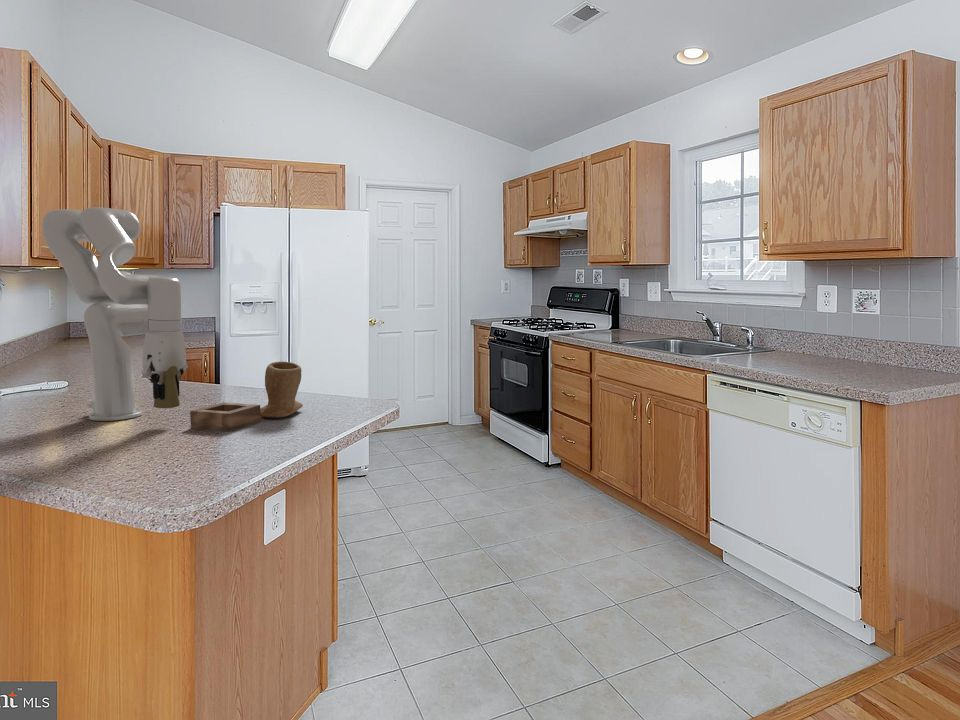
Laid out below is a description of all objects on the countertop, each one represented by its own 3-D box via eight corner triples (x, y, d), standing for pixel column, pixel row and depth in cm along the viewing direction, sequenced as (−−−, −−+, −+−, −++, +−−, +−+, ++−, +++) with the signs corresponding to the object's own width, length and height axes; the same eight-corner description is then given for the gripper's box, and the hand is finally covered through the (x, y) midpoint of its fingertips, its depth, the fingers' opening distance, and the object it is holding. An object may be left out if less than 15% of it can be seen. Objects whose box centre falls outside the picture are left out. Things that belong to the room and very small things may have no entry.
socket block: (190, 428, 157) (189, 410, 156) (223, 418, 168) (222, 402, 167) (230, 431, 153) (229, 413, 152) (261, 421, 164) (260, 404, 164)
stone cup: (292, 421, 165) (290, 365, 163) (250, 420, 166) (247, 365, 164) (313, 410, 180) (312, 359, 178) (274, 409, 181) (272, 358, 179)
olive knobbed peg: (169, 409, 155) (168, 366, 153) (148, 406, 156) (146, 364, 155) (185, 404, 161) (184, 362, 159) (164, 402, 162) (163, 360, 160)
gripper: (178, 323, 165) (179, 390, 167) (125, 327, 149) (127, 401, 151) (201, 325, 162) (202, 393, 165) (150, 330, 147) (152, 405, 149)
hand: (166, 396), depth 158 cm, fingers closed on olive knobbed peg, 4 cm apart
